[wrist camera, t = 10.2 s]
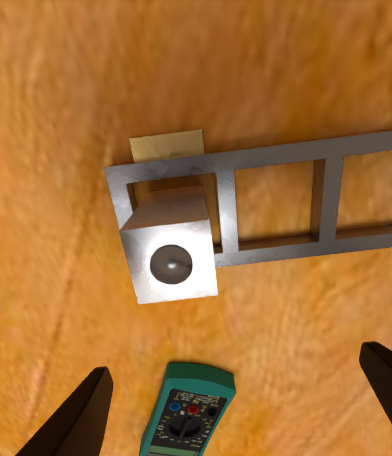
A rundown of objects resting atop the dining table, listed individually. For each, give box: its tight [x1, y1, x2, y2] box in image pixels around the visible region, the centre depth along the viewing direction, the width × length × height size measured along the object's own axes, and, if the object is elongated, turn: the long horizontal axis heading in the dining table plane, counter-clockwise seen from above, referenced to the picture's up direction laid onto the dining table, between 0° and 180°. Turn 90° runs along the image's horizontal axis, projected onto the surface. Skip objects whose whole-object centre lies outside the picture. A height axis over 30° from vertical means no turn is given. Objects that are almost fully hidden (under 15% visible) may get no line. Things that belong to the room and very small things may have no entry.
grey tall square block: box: [119, 185, 218, 304], centre depth 15 cm, size 4×4×8 cm
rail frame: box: [104, 129, 392, 268], centre depth 17 cm, size 23×10×2 cm, turn 97°
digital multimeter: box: [139, 363, 236, 456], centre depth 26 cm, size 7×15×3 cm, turn 163°
